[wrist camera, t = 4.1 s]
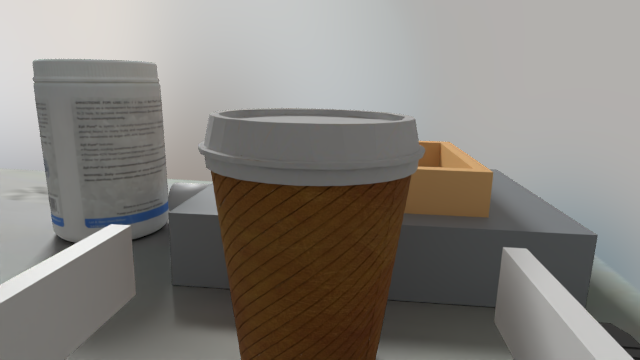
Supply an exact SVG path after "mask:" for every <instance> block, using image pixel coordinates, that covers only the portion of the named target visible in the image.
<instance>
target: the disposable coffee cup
mask: <svg viewBox="0 0 640 360" xmlns="http://www.w3.org/2000/svg"><path fill="white" fill-rule="evenodd" d="M198 149H199V152H200V153H201V154H203V155H205V161H206V167H207V168H208V169H209V170H211V174H212V180H213V187H214V194H215V200H216V206H217V212H218V219H219V224H220V229H221V238H222V243H223V249H224V256H225V262H226V267H227V274H228V280H229V287H230V292H231V300H232V305H233V312H234V317H235V324H236V329H237V336H238V342H239V349H240V355H241V360H375V359H376V353H377V349H378V344H379V340H380V334H381V330H382V324H383V319H384V315H385V308H386V304H387V299H388V293H389V287H390V284H391V278H392V271H393V267H394V262H395V257H396V252H397V248H398V241H399V237H400V232H401V226H402V222H403V216H404V211H405V207H406V200H407V196H408V191H409V184H410V180H411V175H412V174H414V173H415V172H416V170H417V168H418V161H419V159H421V158H423V155H424V153H425V148H424V147H423V146H421V145H419V140H418V134H417V128H416V122H415V119H414V118H413V117H412V116H408V115H402V114H395V113H385V112H372V111H359V110H336V109H299V108H288V109H287V108H286V109H284V108H277V109H276V108H274V109H273V108H271V109H239V110H224V111H217V112H213V113H210V114H209V120H208V125H207V131H206V136H205V140H204V141H202V142H200V143H199V145H198Z"/></svg>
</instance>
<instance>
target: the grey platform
mask: <svg viewBox="0 0 640 360" xmlns="http://www.w3.org/2000/svg"><path fill="white" fill-rule="evenodd" d="M419 145H421V146H423V147H424V148H425V153H424V155H423V158H421V159H419V161H418V168H417V170H416V172H415V173H414V174H412V175H411V180H410V184H409V191H408V196H407V200H406V207H405V211H404V216H403V222H402V226H401V232H400V237H399V241H398V248H397V252H396V257H395V262H394V267H393V271H392V278H391V284H390V287H389V293H388V299H387V300H399V301H413V302H428V303H442V304H457V305H471V306H486V307H496V300H497V292H498V283H499V275H500V267H501V259H502V250H503V247H509V248H526V249H528V250H529V251H530V253H531V254H532V255H533V256H534V257H535V258H536V259H537V260H538V261H539V262H540V263H541V264H542V265H543V266H544V267H545V268H546V269H547V270H548V271H549V272H550V273H551V274H552V275H553V276H554V277H555V278H556V279H557V280H558V282H559V283H560V284H561V285H562V286H563V287H564V288H565V289H566V290H567V291H568V292H569V293H570V294H571V295H572V296H573V297H574V298H575V299H576V300H577V301H578V302H579V303H580V304H581V305H582V306H583V307H584V308H585V307H586V301H587V295H588V289H589V283H590V277H591V271H592V265H593V260H594V254H595V248H596V242H597V234H595V233H593V232H592V231H590V230H589V229H587V228H586V227H584V226H583V225H581V224H580V223H578V222H577V221H575V220H573V219H572V218H570V217H569V216H567V215H566V214H564V213H563V212H561V211H560V210H558V209H557V208H555V207H553V206H552V205H550V204H549V203H547V202H546V201H544V200H543V199H541V198H540V197H538V196H537V195H535V194H533V193H532V192H530V191H529V190H527V189H526V188H524V187H523V186H521V185H520V184H518V183H517V182H515V181H513V180H512V179H510V178H509V177H507V176H506V175H504V174H503V173H501V172H500V171H498V170H491V169H488V168H486V167H485V166H484V165H482V164H481V163H479V162H478V161H476V160H475V159H473V158H472V157H470V156H469V155H468V154H466V153H465V152H463V151H462V150H460V149H459V148H457V147H456V146H454V145H453V144H452V143H450V142H435V141H419ZM168 207H169V211H170V212H168V217H169V235H170V253H171V271H172V285H181V286H196V287H210V288H225V289H230V287H229V280H228V274H227V267H226V262H225V256H224V249H223V243H222V238H221V229H220V224H219V219H218V212H217V206H216V200H215V194H214V187H213V184H197V183H174V184H173V185H172V187H171V189H170V192H169V197H168Z"/></svg>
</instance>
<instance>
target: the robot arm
mask: <svg viewBox="0 0 640 360" xmlns="http://www.w3.org/2000/svg"><path fill="white" fill-rule="evenodd" d="M135 295H136V287H135V274H134V260H133V247H132V234H131V225H116V224H111V225H109V226H107V227H105V228H103V229H101V230H100V231H98V232H96V233H94V234H92V235H90V236H89V237H87V238H85V239H83V240H81V241H79V242H78V243H76V244H74V245H72V246H70V247H68V248H67V249H65V250H63V251H61V252H59V253H57V254H56V255H54V256H52V257H50V258H48V259H46V260H45V261H43V262H41V263H39V264H37V265H35V266H34V267H32V268H30V269H28V270H26V271H24V272H23V273H21V274H19V275H17V276H15V277H13V278H12V279H10V280H8V281H6V282H4V283H3V284H1V285H0V360H65V359H66V358H67V357H68V356H69V355H70V354H71V353H73V352H74V351H75V350H76V349H77V348H78V347H79V346H80V345H81V344H82V343H84V342H85V341H86V340H87V339H88V338H89V337H90V336H91V335H92V334H93V333H95V332H96V331H97V330H98V329H99V328H100V327H101V326H102V325H103V324H104V323H106V322H107V321H108V320H109V319H110V318H111V317H112V316H113V315H114V314H115V313H117V312H118V311H119V310H120V309H121V308H122V307H123V306H124V305H125V304H126V303H128V302H129V301H130V300H131V299H132V298H133V297H134V296H135ZM494 323H495V325H496V326H497V328H498V330H499V332H500V334H501V336H502V338H503V340H504V341H505V343H506V345H507V347H508V349H509V351H510V353H511V355H512V357H513V358H514V360H640V344H639V343H638V342H637V341H636V340H635V339H634V338H633V337H632V336H631V335H629V334H628V333H626V332H624V331H623V330H621V329H619V328H617V327H616V326H614V325H612V324H611V323H600V322H597V321H596V320H595V319H594V318H593V317H592V316H591V315H590V314H589V313H588V312H587V311H586V309H585V308H584V307H583V306H582V305H581V304H580V303H579V302H578V301H577V300H576V299H575V298H574V297H573V296H572V295H571V294H570V293H569V292H568V291H567V290H566V289H565V288H564V287H563V286H562V285H561V284H560V283H559V282H558V280H557V279H556V278H555V277H554V276H553V275H552V274H551V273H550V272H549V271H548V270H547V269H546V268H545V267H544V266H543V265H542V264H541V263H540V262H539V261H538V260H537V259H536V258H535V257H534V256H533V255H532V254H531V253H530V251H529V250H528V249H526V248H509V247H503V250H502V259H501V267H500V275H499V283H498V292H497V300H496V308H495V317H494Z"/></svg>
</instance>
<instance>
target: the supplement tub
mask: <svg viewBox="0 0 640 360" xmlns="http://www.w3.org/2000/svg"><path fill="white" fill-rule="evenodd" d="M33 70H34V77H33V81H34V82H35V83H34V92H35V101H36V108H37V115H38V122H39V129H40V137H41V144H42V151H43V158H44V165H45V173H46V180H47V187H48V195H49V202H50V209H51V217H52V224H53V229H54V232H55V233H56V234H57V235H58V236H59V237H60V238H62V239H64V240H67V241H70V242H74V243H78V242H79V241H81V240H83V239H85V238H87V237H89V236H90V235H92V234H94V233H96V232H98V231H100V230H101V229H103V228H105V227H107V226H109V225H111V224H116V225H131V234H132V239H136V238H140V237H143V236H146V235H149V234H151V233H153V232H155V231H157V230H159V229H160V228H162V227H163V226H164V225H165V224H166V223H167V221H168V219H169V217H168V212H169V207H168V185H167V171H166V158H165V143H164V130H163V116H162V102H161V91H160V85H159V79H158V77H157V66H156V64H155V63H152V62H142V61H122V60H91V59H39V60H34V61H33Z"/></svg>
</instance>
